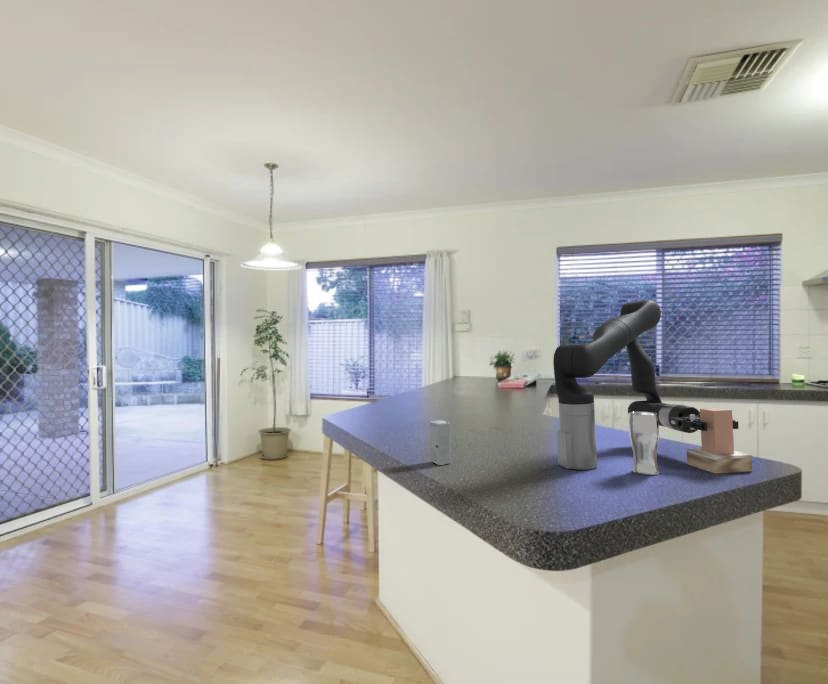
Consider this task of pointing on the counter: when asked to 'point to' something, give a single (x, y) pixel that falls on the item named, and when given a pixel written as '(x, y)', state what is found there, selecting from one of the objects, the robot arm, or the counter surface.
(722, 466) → the base slab
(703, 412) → the pillar
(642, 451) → the beer glass
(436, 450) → the skincare box
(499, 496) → the counter surface
